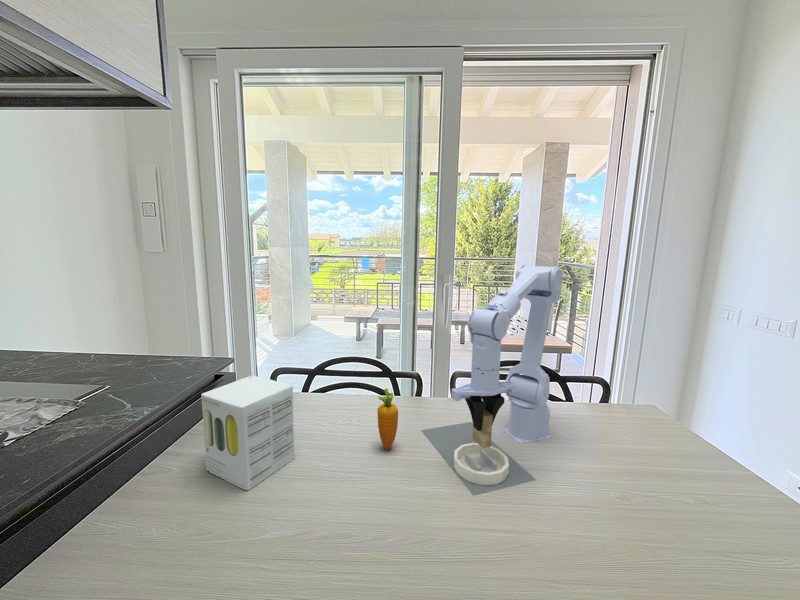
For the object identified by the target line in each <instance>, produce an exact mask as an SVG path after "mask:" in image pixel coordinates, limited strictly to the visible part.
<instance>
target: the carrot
mask: <svg viewBox="0 0 800 600" xmlns="http://www.w3.org/2000/svg"><path fill="white" fill-rule="evenodd" d="M384 393H385V396H380V395H379V396H378V399H379V400H380V401H382V402H383V403H382V404H380V405H379V406H378V407H377V428H378V433H379V438H380V441H381V443H382V444H381V445H382V446H383V448H384V450H385V451H389V450H391V448H392V446H393V444H394V442H395V439H396V437H397V436H396V435H397V431H398V422H399V410H398V407H397V405H396V404H394V403H392V402H393V399H394V392H393V391H391V392H390V391H389V388H387V387H386V388H384Z"/></svg>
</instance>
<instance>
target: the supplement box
mask: <svg viewBox="0 0 800 600" xmlns="http://www.w3.org/2000/svg"><path fill="white" fill-rule="evenodd" d="M293 391H294V389H293V384H292V385H291V384H288V383H284V382H280V381H278V380H277V381H276V380H274V379H268V378H264V377H261V376H257V375H253V374H252V375H249V376H247V377H243V378H241V379H238V380H235V381H233V382H230V383H227V384H225V385H221V386H219V387H217V388H213V389H211V390H208V391H205V392H202V393H201V395H200V396H201V409H202V420H203V421H202V424H203V436H204V438H203V440H204V450H205V452H204V454H205V469H206V472H207V471H209V472H210V473H209V472H208V473H209V474H211V473H212V474H211V475H213V474H214V475H213V476H215V475H216V477H217V476H218V478H219V477H221V478H222V479H221V478H220V479H221V480H223V479H225V480H224V481H225V482H228V483H230V484H232V485H234V486H236V487H237V488H240V489H243V490H245V491H246V490H247V491H250V490H251V489H252V488H255V486H257V485H258V484H260V483H261V482H262V481H264V480H265V479H267V478H268V477H269V476H271V475H272V474H274V473H275V472H277V471H278V470H279V469H281V468H283V467H284V466H286V465H287V464H288V463H290V462H291V461H293V460H295V457H296V456H295V437H294V436H295V434H294V433H295V431H294V427H295V426H294V395H293V394H294V392H293Z"/></svg>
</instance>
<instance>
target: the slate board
mask: <svg viewBox="0 0 800 600" xmlns="http://www.w3.org/2000/svg"><path fill="white" fill-rule="evenodd" d="M420 431H421V432H422V434H423V435H424V436H425V437H426V439H427V440H428V441H429V442H430V444H432V446H433V447H434V449H435V450H436V451H437V452H438V454H439V455H440V456H441V457H442V459H443V460H444V461H445V463H447V464H448V466H449V467H450V469H451V470H452V471H453V472H454V474H455V475H456V476H457V477H458V479H459V480H460V481H461V483H463V485H464V486H465V487H466V489H467V490H468V491H469V492H470V494H471V495H472V497H473V496H477V495H482V494H485V493H489V492H493V491H498V490H501V489H505V488H511V487H515V486H517V485H522V484H526V483H529V482H534V481H537V479H536V478H535V477H534V476H533V475H532V474H531V473H530V472H528V471H527V470H526V469H525V468H523V466H521V464H519V463H518V462H517V461H516V460H515V459H514V458H513V457H511V455H509V454H508V453H507V452H506V451H505V450H503V448H502V447H500V446H499V445H497V443H495V442H494V441H493V440H492V439H491V446H492V447H494V448H497V449H499V450H500V451H501V452H503V453H504V454H505V455H506V456H507V457H508V462H509V474H508V475H507V478H506V479H505V480H504V481H503V482H502V483H500V484H497V485H492V486H483V485H477V484H473V483H471V482H468V481H466V480H464V479H463V478H461V477H460V476H459V475H458V474H457V473H456V471H455V469H454V452H455V450H456V449H457V448H458V447H460V446H461V445H464V444H470V443H477V442H476V441H475V440H474V439H473V421H469V422H463V423H456V424H452V425H450V424H449V425H444V426H439V427H438V426H437V427H432V428H426V429H421V430H420Z"/></svg>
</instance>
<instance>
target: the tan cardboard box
mask: <svg viewBox="0 0 800 600" xmlns="http://www.w3.org/2000/svg"><path fill="white" fill-rule="evenodd" d="M492 419H493V415H492V414H490V413H489V412H488V411H487V410H485V409H484V413H483V419H482V428H481V431H478V430H476V429H475V428H474V427H473V439H474V440H475V441H476V442H477V443H478V444H479V445H480V446H481V447H482V448H486V447H491V440H492V434H493V433H492V431H493V425H492Z"/></svg>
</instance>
